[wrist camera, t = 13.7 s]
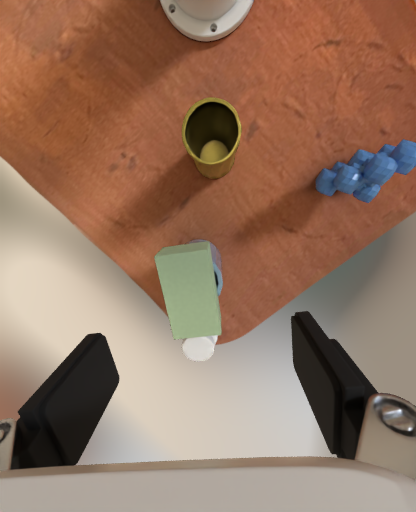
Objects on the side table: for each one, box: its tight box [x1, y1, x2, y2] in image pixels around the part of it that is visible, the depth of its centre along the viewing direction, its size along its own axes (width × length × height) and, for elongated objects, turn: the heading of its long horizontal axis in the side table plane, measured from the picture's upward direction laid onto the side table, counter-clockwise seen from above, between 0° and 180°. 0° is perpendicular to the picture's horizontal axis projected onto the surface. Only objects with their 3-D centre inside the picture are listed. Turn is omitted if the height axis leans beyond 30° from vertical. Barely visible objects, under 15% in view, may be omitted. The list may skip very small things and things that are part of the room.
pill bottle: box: [182, 335, 218, 362], centre depth 35 cm, size 6×6×10 cm
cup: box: [185, 239, 223, 296], centre depth 33 cm, size 8×8×9 cm
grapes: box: [316, 139, 416, 203], centre depth 26 cm, size 12×7×12 cm, turn 112°
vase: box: [182, 97, 242, 179], centre depth 25 cm, size 6×6×14 cm
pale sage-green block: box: [154, 241, 221, 339], centre depth 26 cm, size 11×6×4 cm, turn 9°
